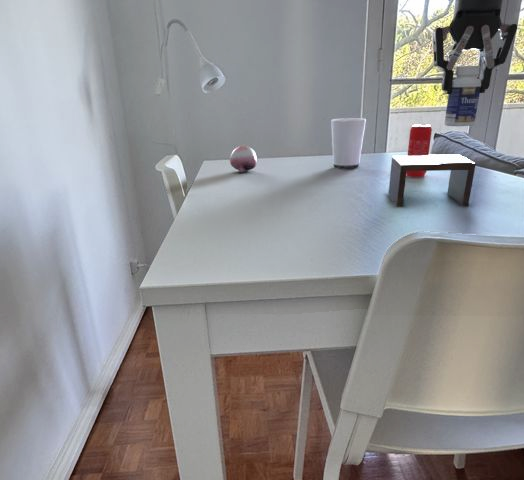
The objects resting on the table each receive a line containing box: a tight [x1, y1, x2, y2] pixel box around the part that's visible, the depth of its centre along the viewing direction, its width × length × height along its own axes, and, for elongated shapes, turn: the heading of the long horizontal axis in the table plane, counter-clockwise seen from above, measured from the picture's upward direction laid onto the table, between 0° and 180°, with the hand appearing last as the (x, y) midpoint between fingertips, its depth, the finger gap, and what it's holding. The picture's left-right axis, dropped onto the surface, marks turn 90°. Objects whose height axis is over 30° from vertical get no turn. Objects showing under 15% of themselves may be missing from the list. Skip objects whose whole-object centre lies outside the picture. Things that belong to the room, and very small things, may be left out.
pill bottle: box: [444, 65, 481, 127], centre depth 87 cm, size 5×5×10 cm
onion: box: [229, 144, 258, 173], centre depth 137 cm, size 8×8×7 cm
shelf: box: [388, 154, 477, 208], centre depth 98 cm, size 14×12×8 cm
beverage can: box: [406, 124, 433, 178], centre depth 120 cm, size 5×5×12 cm
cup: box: [330, 117, 367, 170], centre depth 137 cm, size 10×10×13 cm
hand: (464, 93), depth 87 cm, fingers closed on pill bottle, 5 cm apart
